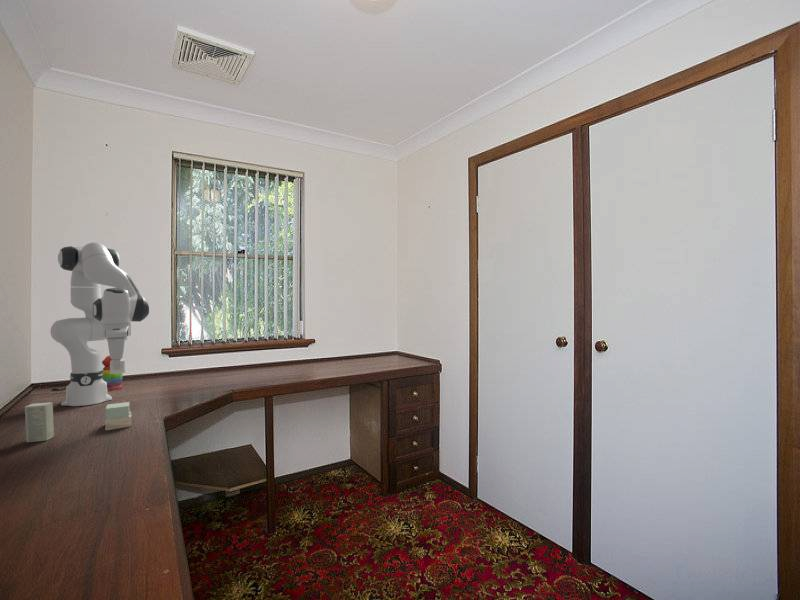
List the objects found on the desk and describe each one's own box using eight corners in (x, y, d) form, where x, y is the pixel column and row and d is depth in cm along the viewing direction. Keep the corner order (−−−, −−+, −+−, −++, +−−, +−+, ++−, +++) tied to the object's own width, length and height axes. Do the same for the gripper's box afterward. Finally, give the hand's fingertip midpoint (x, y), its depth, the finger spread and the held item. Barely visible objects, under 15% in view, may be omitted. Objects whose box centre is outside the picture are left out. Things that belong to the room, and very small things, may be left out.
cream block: (110, 372, 157) (110, 360, 157) (124, 371, 160) (124, 359, 160) (110, 374, 153) (109, 361, 153) (124, 372, 156) (124, 360, 156)
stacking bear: (103, 387, 223) (103, 354, 222) (125, 386, 226) (125, 353, 225) (96, 392, 212) (95, 357, 212) (119, 390, 215) (118, 356, 215)
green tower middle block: (107, 415, 158) (107, 404, 157) (129, 412, 161) (129, 401, 161) (105, 419, 152) (105, 408, 152) (128, 416, 155) (128, 406, 155)
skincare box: (54, 436, 144) (54, 401, 144) (46, 441, 140) (46, 405, 140) (33, 438, 143) (32, 403, 143) (24, 442, 139) (24, 406, 139)
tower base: (106, 425, 158) (105, 415, 158) (131, 421, 162) (131, 411, 162) (105, 431, 151) (105, 420, 151) (131, 427, 156) (131, 416, 156)
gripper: (108, 330, 163) (108, 365, 164) (105, 333, 146) (105, 373, 146) (127, 329, 167) (127, 363, 167) (126, 332, 150) (127, 371, 150)
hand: (117, 368), depth 157 cm, fingers closed on cream block, 4 cm apart
